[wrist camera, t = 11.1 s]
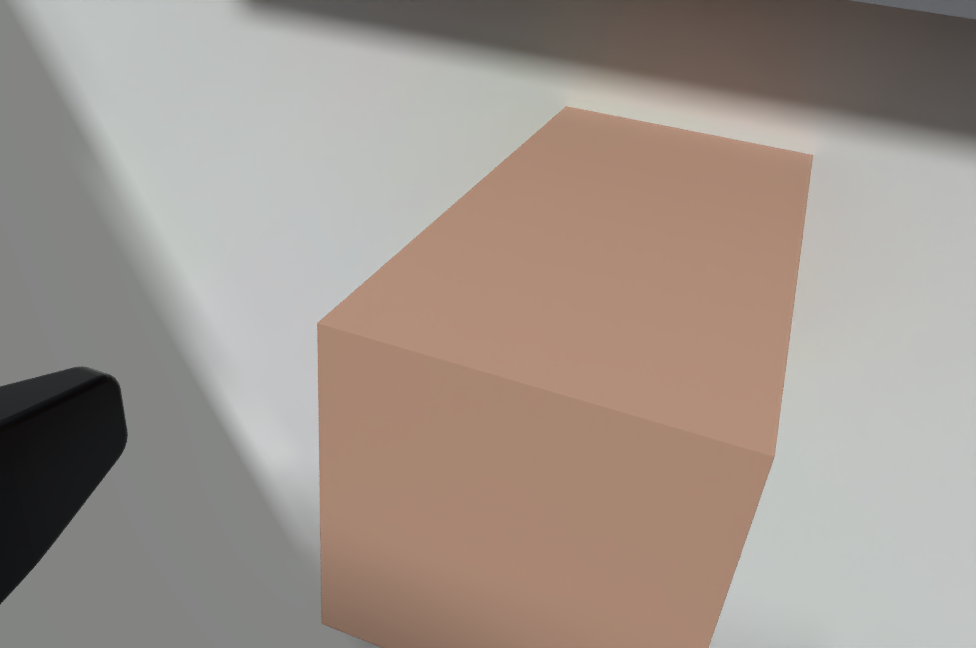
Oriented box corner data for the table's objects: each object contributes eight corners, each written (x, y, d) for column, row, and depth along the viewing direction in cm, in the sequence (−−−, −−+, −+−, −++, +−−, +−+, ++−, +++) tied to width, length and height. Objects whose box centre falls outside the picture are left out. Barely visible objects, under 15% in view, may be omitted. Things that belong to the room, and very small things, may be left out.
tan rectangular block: (812, 155, 13) (774, 456, 6) (748, 369, 15) (669, 761, 8) (566, 106, 14) (317, 322, 7) (537, 312, 16) (321, 623, 10)
